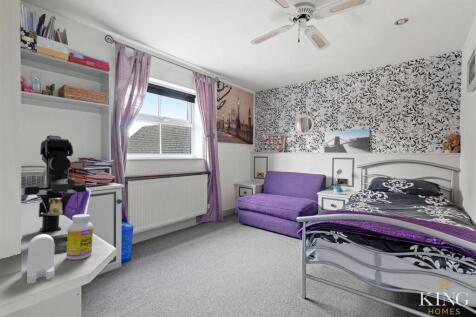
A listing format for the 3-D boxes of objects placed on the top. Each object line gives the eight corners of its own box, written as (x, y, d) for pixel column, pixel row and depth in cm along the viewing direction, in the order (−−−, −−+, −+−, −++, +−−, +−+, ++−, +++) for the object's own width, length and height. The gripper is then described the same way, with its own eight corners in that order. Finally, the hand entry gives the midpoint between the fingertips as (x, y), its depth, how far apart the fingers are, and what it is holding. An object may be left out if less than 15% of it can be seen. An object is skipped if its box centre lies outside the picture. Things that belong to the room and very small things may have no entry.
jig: (40, 243, 85) (40, 238, 85) (70, 238, 92) (70, 233, 92) (47, 254, 76) (47, 248, 76) (80, 248, 82) (80, 242, 82)
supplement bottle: (79, 261, 71) (81, 218, 72) (60, 259, 73) (62, 217, 73) (96, 253, 78) (98, 214, 78) (79, 251, 79) (81, 212, 79)
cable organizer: (51, 265, 69) (53, 230, 69) (54, 278, 61) (56, 238, 62) (27, 269, 65) (28, 233, 65) (27, 284, 58) (29, 242, 58)
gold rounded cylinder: (47, 214, 91) (47, 198, 92) (61, 212, 95) (61, 197, 95) (49, 216, 88) (49, 199, 89) (63, 214, 92) (64, 198, 92)
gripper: (27, 171, 80) (25, 218, 79) (90, 171, 93) (89, 211, 93) (24, 170, 87) (22, 213, 87) (83, 170, 101) (81, 207, 100)
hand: (55, 211), depth 92 cm, fingers closed on gold rounded cylinder, 4 cm apart
